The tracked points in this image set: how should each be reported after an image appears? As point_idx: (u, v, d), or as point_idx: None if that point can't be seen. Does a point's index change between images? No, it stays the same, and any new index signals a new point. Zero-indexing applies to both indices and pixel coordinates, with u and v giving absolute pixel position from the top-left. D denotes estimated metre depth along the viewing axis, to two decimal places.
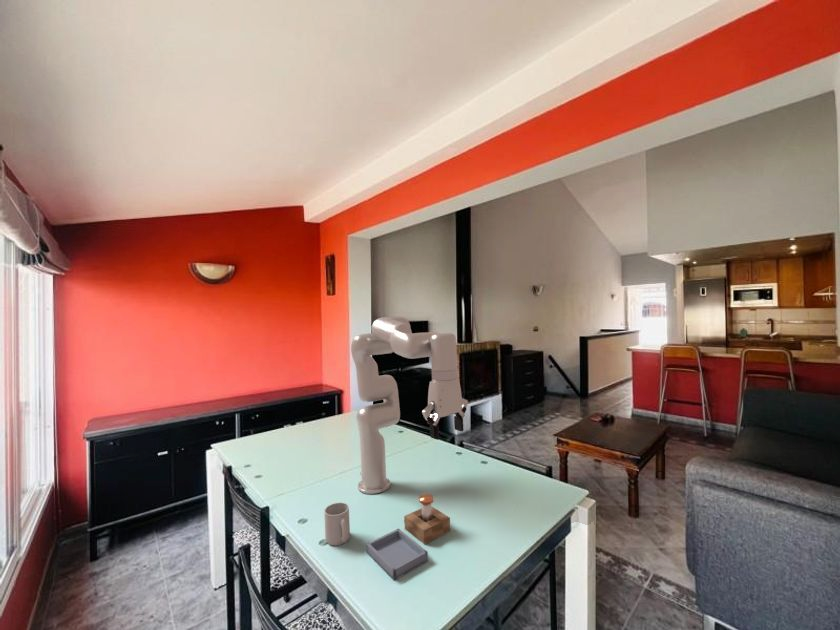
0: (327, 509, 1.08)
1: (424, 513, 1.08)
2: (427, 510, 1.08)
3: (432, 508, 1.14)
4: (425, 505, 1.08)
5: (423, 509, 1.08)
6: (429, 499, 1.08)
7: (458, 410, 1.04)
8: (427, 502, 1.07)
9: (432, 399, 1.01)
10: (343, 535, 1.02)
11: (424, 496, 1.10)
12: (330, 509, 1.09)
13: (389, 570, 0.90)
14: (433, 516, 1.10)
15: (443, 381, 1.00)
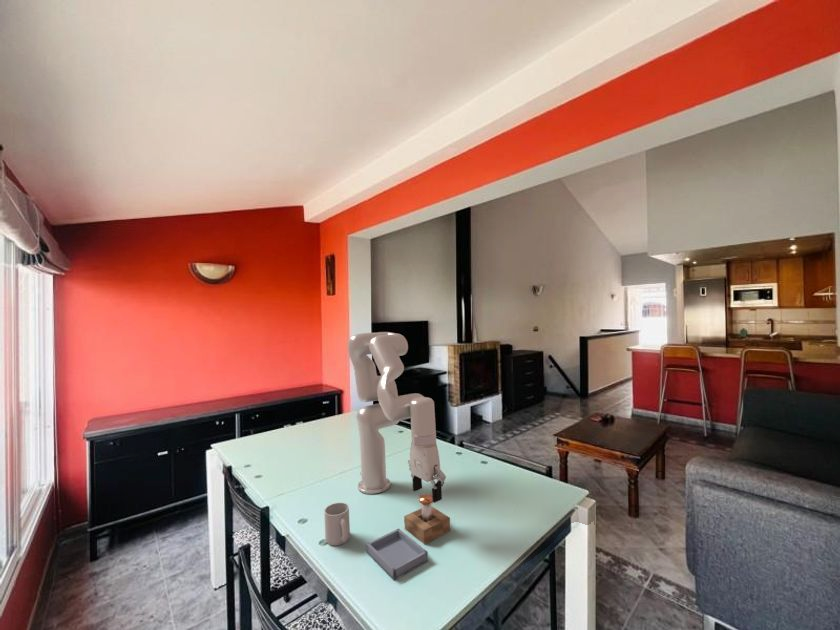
0: (327, 509, 1.08)
1: (424, 513, 1.08)
2: (427, 510, 1.08)
3: (432, 508, 1.14)
4: (425, 505, 1.08)
5: (423, 509, 1.08)
6: (429, 499, 1.08)
7: None
8: (427, 502, 1.07)
9: (435, 463, 1.05)
10: (343, 535, 1.02)
11: (424, 496, 1.10)
12: (330, 509, 1.09)
13: (389, 570, 0.90)
14: (433, 516, 1.10)
15: None
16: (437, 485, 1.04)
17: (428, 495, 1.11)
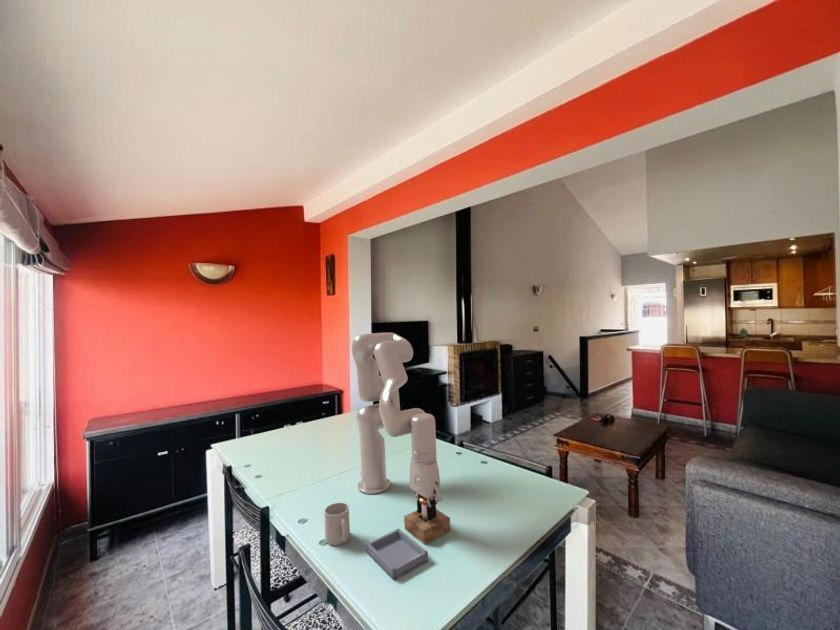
0: (327, 509, 1.08)
1: (424, 513, 1.08)
2: None
3: None
4: (425, 505, 1.08)
5: (423, 509, 1.08)
6: None
7: None
8: None
9: (435, 480, 1.06)
10: (343, 535, 1.02)
11: None
12: (330, 509, 1.09)
13: (389, 570, 0.90)
14: None
15: (436, 459, 1.09)
16: (432, 503, 1.06)
17: None
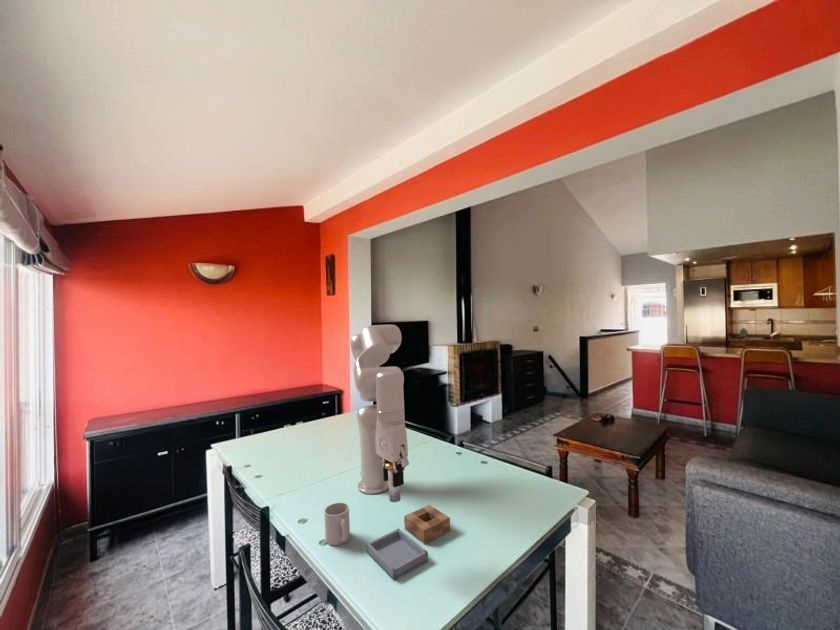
0: (327, 509, 1.08)
1: (390, 480, 0.97)
2: None
3: (432, 508, 1.14)
4: (391, 471, 0.96)
5: (389, 476, 0.97)
6: None
7: None
8: None
9: (401, 442, 0.94)
10: (343, 535, 1.02)
11: None
12: (330, 509, 1.09)
13: (389, 570, 0.90)
14: (433, 516, 1.10)
15: (404, 420, 0.97)
16: (398, 468, 0.94)
17: None
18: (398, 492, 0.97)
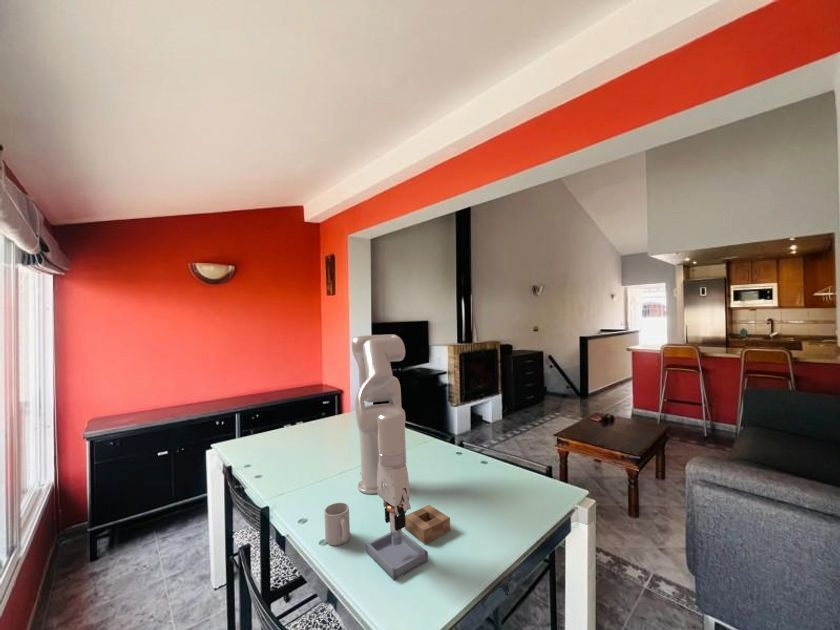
0: (327, 509, 1.08)
1: (392, 523, 0.96)
2: None
3: (432, 508, 1.14)
4: (393, 514, 0.96)
5: (391, 518, 0.97)
6: None
7: None
8: None
9: (403, 486, 0.94)
10: (343, 535, 1.02)
11: None
12: (330, 509, 1.09)
13: (389, 570, 0.90)
14: (433, 516, 1.10)
15: (405, 462, 0.97)
16: (400, 512, 0.94)
17: None
18: (400, 535, 0.97)
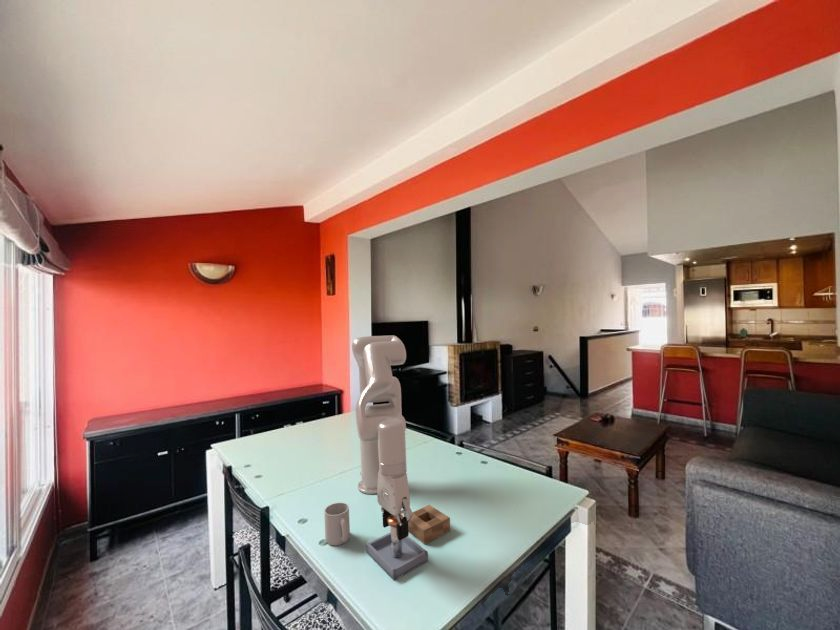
0: (327, 509, 1.08)
1: (392, 536, 0.96)
2: (396, 533, 0.96)
3: (432, 508, 1.14)
4: (394, 527, 0.96)
5: (392, 532, 0.97)
6: None
7: None
8: (396, 524, 0.96)
9: (403, 495, 0.94)
10: (343, 535, 1.02)
11: (394, 517, 0.98)
12: (330, 509, 1.09)
13: (389, 570, 0.90)
14: (433, 516, 1.10)
15: (406, 470, 0.97)
16: (403, 521, 0.93)
17: None
18: (400, 548, 0.97)
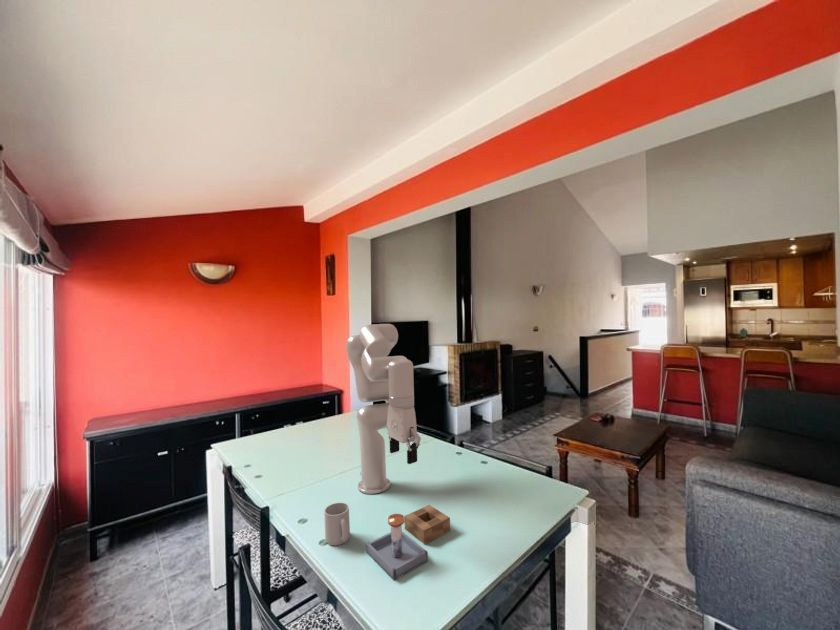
0: (327, 509, 1.08)
1: (393, 536, 0.96)
2: (396, 532, 0.96)
3: (432, 508, 1.14)
4: (394, 527, 0.96)
5: (392, 531, 0.97)
6: (399, 520, 0.96)
7: None
8: (396, 524, 0.96)
9: (411, 425, 1.03)
10: (343, 535, 1.02)
11: (394, 516, 0.98)
12: (330, 509, 1.09)
13: (389, 570, 0.90)
14: (433, 516, 1.10)
15: (413, 405, 1.06)
16: (412, 447, 1.02)
17: (399, 515, 0.99)
18: (400, 548, 0.97)
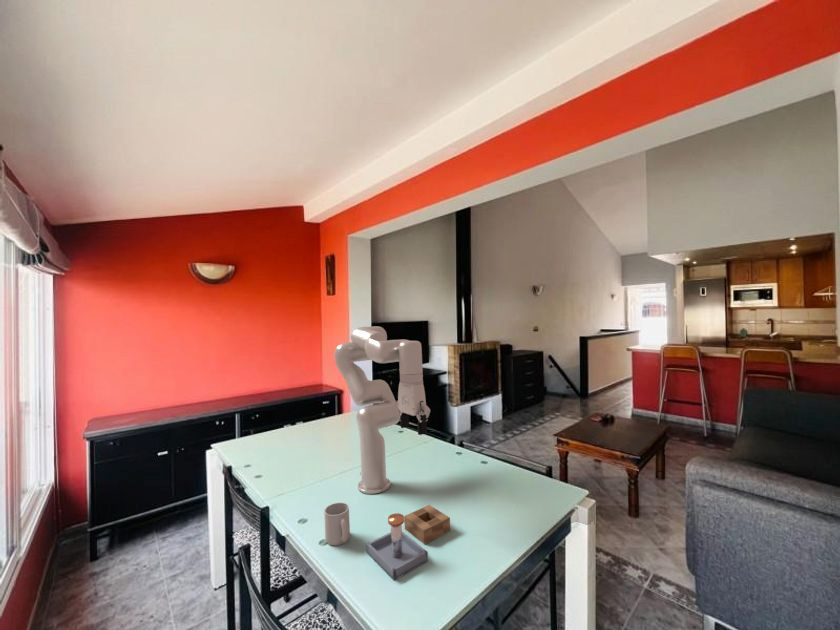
0: (327, 509, 1.08)
1: (393, 535, 0.97)
2: (396, 532, 0.96)
3: (432, 508, 1.14)
4: (394, 527, 0.96)
5: (392, 531, 0.97)
6: (399, 520, 0.97)
7: None
8: (396, 523, 0.96)
9: (421, 399, 1.13)
10: (343, 535, 1.02)
11: (394, 516, 0.99)
12: (330, 509, 1.09)
13: (389, 570, 0.90)
14: (433, 516, 1.10)
15: (422, 381, 1.17)
16: (422, 418, 1.12)
17: (399, 515, 0.99)
18: (400, 548, 0.97)
